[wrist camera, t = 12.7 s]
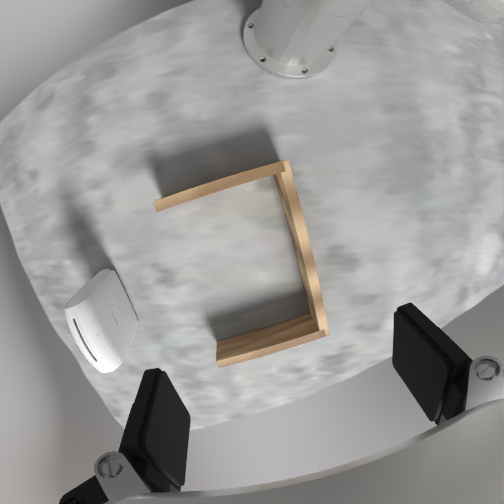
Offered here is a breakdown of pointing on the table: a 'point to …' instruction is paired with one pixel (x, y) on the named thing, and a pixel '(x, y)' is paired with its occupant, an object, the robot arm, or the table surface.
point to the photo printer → (102, 321)
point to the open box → (316, 321)
